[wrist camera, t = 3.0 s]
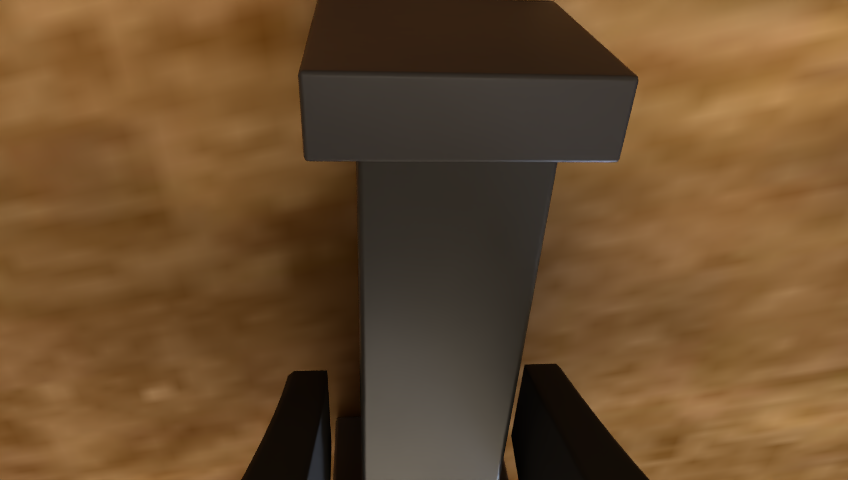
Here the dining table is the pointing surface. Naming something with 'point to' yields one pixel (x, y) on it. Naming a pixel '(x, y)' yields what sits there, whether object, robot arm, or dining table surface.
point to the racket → (450, 206)
